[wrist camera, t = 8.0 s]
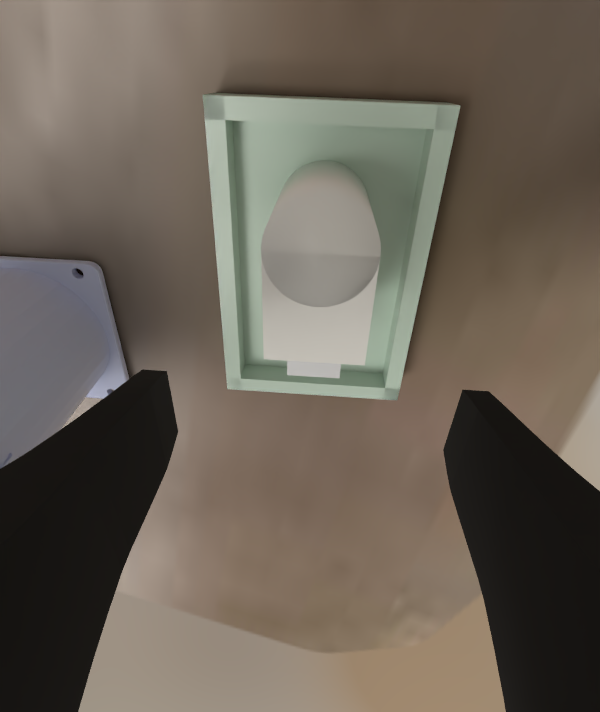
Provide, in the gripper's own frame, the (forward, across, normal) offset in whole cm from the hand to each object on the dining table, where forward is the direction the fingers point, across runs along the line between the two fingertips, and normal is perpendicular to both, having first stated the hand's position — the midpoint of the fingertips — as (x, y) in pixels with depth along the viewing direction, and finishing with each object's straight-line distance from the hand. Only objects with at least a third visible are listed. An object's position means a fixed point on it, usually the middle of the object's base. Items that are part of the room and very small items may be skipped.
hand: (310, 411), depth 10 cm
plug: (+9, 0, 0) cm, 9 cm away
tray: (+10, 0, 0) cm, 10 cm away
